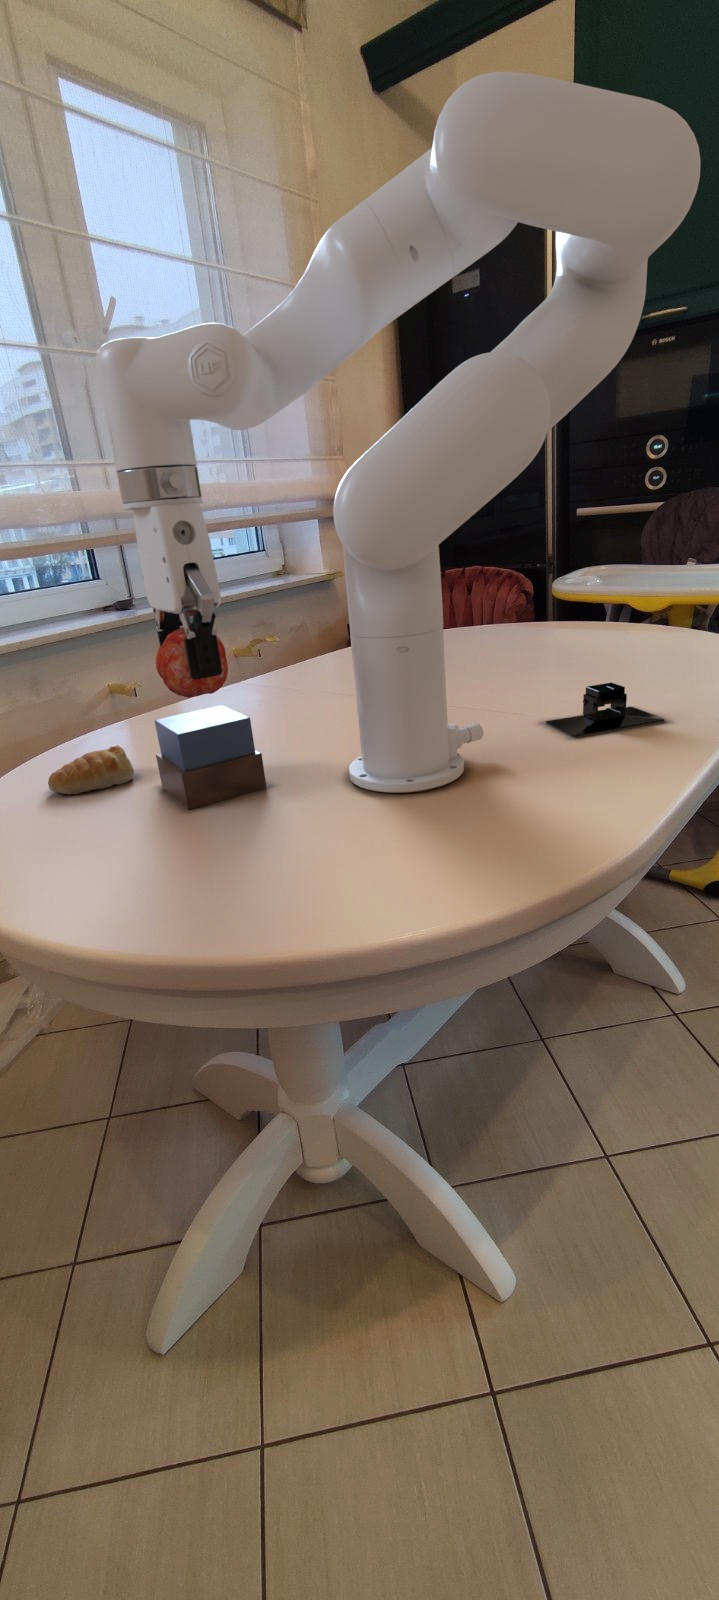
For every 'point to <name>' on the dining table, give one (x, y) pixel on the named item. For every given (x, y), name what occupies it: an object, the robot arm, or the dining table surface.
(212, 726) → the top block
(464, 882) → the dining table surface
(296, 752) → the dining table surface
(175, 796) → the base block
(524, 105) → the robot arm
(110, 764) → the pastry
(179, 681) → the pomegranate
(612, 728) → the build plate
